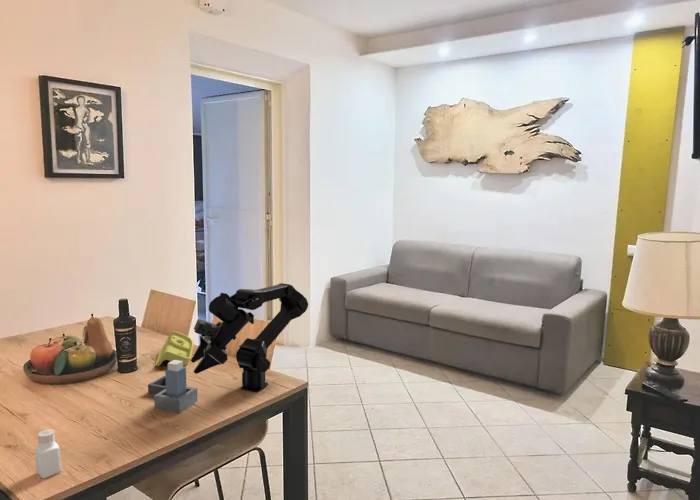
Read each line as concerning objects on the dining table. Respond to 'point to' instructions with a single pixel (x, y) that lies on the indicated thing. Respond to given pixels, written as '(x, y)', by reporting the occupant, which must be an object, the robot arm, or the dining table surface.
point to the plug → (175, 379)
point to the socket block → (175, 401)
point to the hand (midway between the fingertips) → (193, 367)
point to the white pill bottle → (47, 454)
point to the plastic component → (176, 349)
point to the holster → (157, 386)
